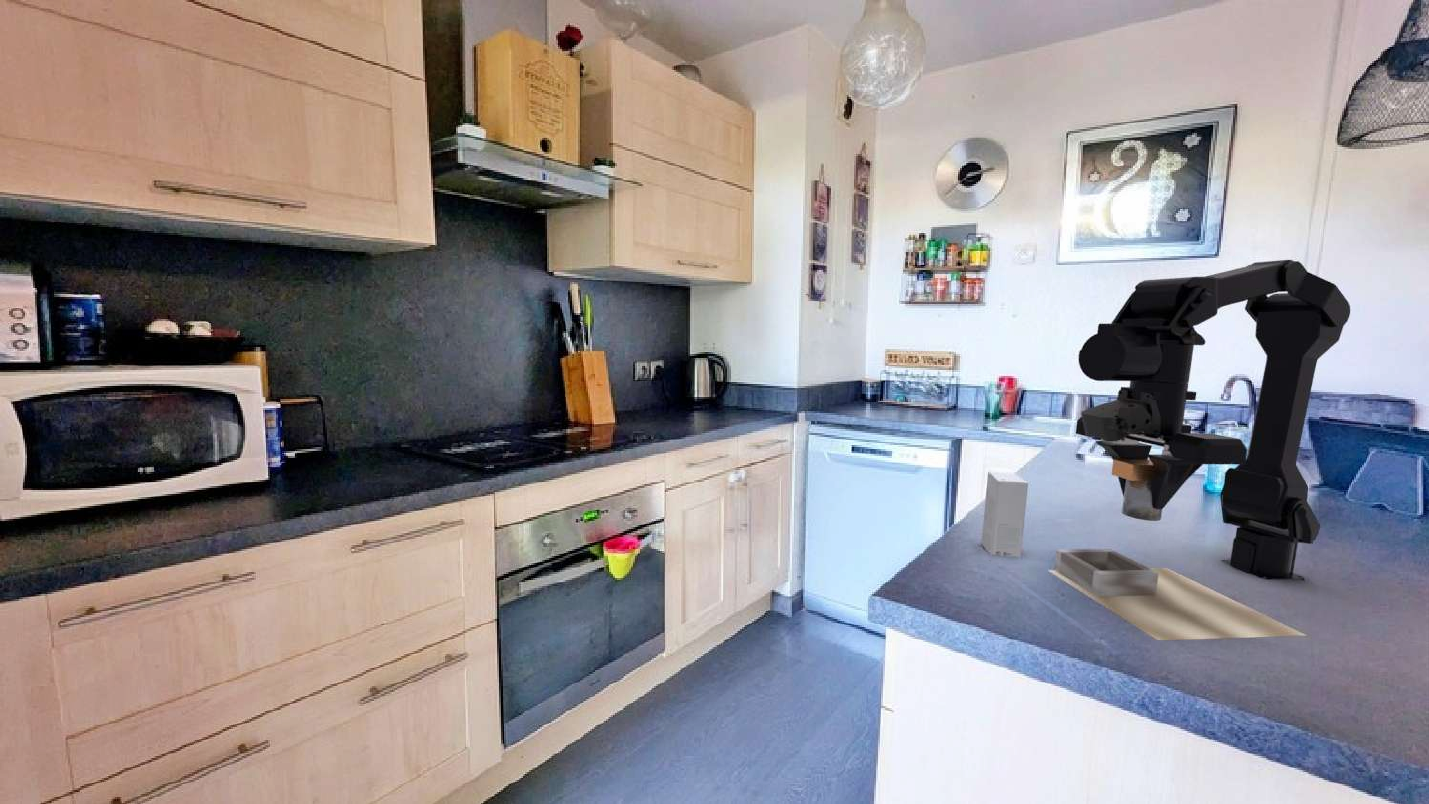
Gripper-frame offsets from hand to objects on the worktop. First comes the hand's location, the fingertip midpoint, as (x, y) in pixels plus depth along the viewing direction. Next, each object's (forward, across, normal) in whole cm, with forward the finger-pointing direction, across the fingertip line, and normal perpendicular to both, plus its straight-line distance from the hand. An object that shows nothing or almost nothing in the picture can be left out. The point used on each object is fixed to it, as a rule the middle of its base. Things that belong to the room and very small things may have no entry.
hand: (1142, 503), depth 72 cm
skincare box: (+13, -15, -8) cm, 21 cm away
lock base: (+12, +2, +2) cm, 13 cm away
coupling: (+2, 0, 0) cm, 2 cm away
